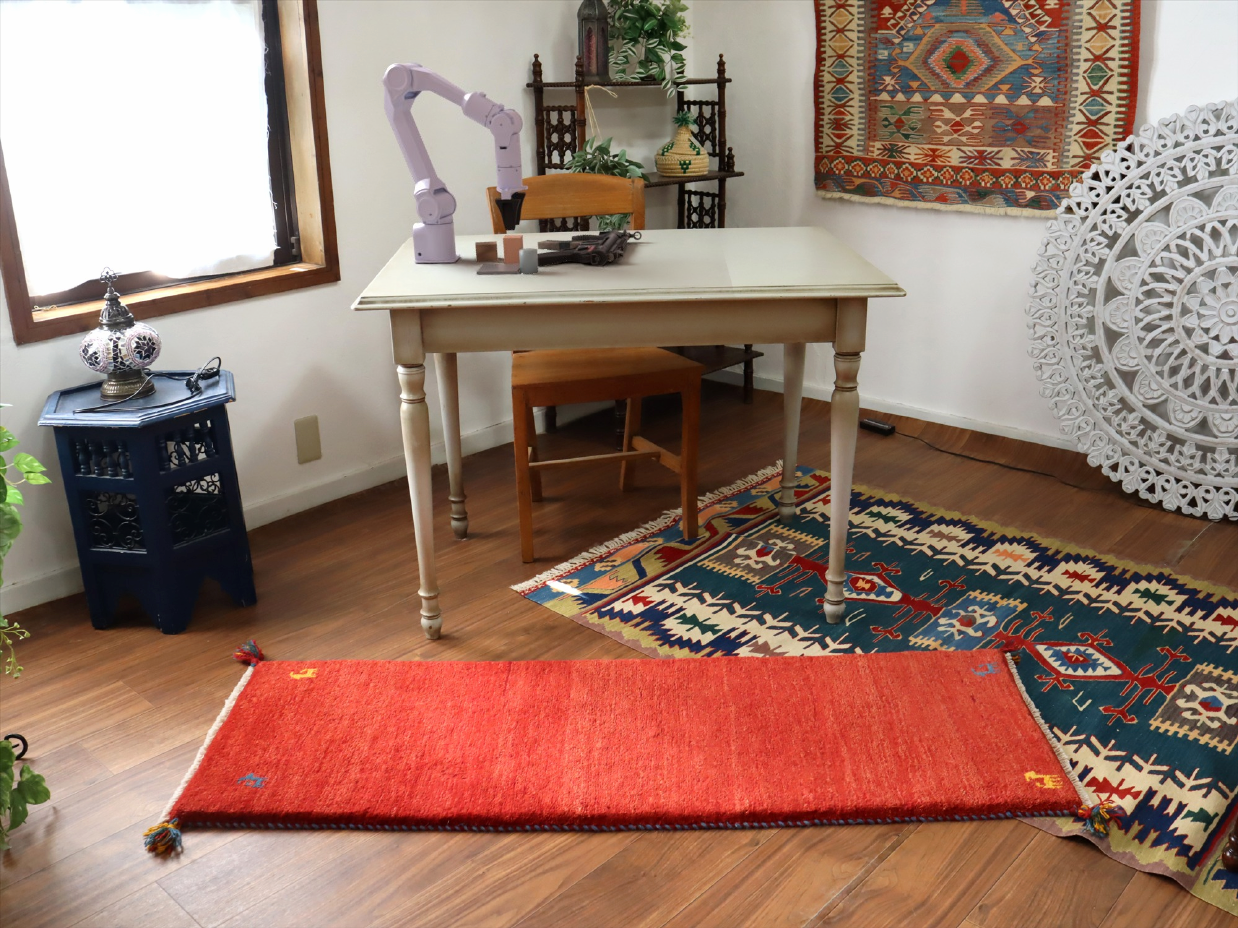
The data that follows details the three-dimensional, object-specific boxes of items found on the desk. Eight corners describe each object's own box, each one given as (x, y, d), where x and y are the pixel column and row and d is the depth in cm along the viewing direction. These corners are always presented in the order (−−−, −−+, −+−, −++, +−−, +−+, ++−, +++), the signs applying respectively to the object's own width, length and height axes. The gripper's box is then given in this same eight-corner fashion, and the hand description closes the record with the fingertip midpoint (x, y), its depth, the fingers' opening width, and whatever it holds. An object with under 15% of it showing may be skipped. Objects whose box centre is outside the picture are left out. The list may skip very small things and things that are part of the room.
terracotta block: (504, 264, 244) (502, 238, 242) (507, 261, 248) (505, 235, 246) (521, 264, 244) (520, 238, 242) (524, 261, 248) (522, 235, 245)
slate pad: (476, 274, 234) (476, 271, 233) (483, 266, 242) (483, 264, 242) (517, 273, 233) (517, 271, 233) (522, 266, 242) (522, 263, 241)
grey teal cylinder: (519, 274, 233) (517, 251, 231) (521, 271, 236) (520, 248, 235) (537, 274, 232) (536, 251, 231) (539, 270, 236) (538, 248, 234)
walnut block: (476, 262, 248) (475, 245, 246) (476, 259, 252) (475, 242, 250) (498, 261, 248) (496, 244, 247) (497, 258, 252) (496, 241, 251)
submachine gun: (544, 231, 270) (641, 225, 266) (546, 248, 272) (642, 243, 268) (516, 253, 240) (625, 247, 236) (518, 272, 242) (626, 267, 238)
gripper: (522, 169, 231) (525, 232, 236) (530, 163, 244) (533, 222, 249) (490, 170, 231) (494, 233, 236) (500, 163, 245) (503, 223, 250)
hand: (512, 227), depth 243 cm, fingers open, 7 cm apart
